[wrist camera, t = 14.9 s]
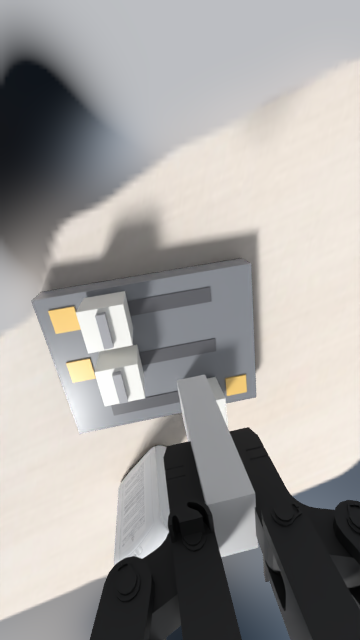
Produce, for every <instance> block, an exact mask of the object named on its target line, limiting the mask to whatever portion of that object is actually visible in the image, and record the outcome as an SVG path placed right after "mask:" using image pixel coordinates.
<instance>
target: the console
mask: <svg viewBox="0 0 360 640" xmlns="http://www.w3.org/2000/svg"><path fill="white" fill-rule="evenodd" d="M122 291H125V294H126V298H127V303H128V307H129V312H130V316H131V321H132V325H133V345H137V346H138V350H139V355H140V359H141V364H142V368H143V373H144V382H145V398H144V399H140V400H135V401H130V402H127V403H122V404H115V405H110V406H104V403H103V399H102V396H101V393H100V389H99V386H98V383H97V380H96V376H95V373H94V372H95V368H96V364H97V360H98V356H99V352H94V353H89V354H88V351H87V348H86V345H85V342H84V338H83V335H82V332H81V328H80V325H79V322H78V319H77V315H76V311H77V309H78V308H79V306H80V304H81V302H82V300H83V299H84V298H87V297H93V296H99V295H105V294H111V293H116V292H122ZM32 304H33V307H34V310H35V313H36V315H37V318H38V321H39V323H40V326H41V329H42V332H43V334H44V337H45V340H46V343H47V345H48V348H49V351H50V354H51V356H52V359H53V362H54V365H55V367H56V370H57V373H58V376H59V378H60V381H61V384H62V387H63V389H64V392H65V395H66V398H67V400H68V403H69V406H70V408H71V411H72V414H73V417H74V419H75V422H76V425H77V428H78V430H79V433H80V434H81V433H86V432H91V431H96V430H101V429H106V428H110V427H115V426H120V425H125V424H130V423H134V422H139V421H144V420H149V419H154V418H158V417H163V416H168V415H173V414H178V413H182V410H181V404H180V398H179V392H178V386H177V380H180V379H185V378H190V377H195V376H200V375H206V378H212V377H216V379H217V381H218V383H219V385H220V387H221V390H222V392H223V394H224V396H225V399H226V403H231V402H236V401H240V400H245V399H250V398H255V397H256V375H255V349H254V323H253V296H252V270H251V263H250V262H248V261H246V260H244V259H242V258H240V259H234V260H228V261H222V262H216V263H210V264H204V265H198V266H192V267H186V268H180V269H174V270H168V271H163V272H157V273H151V274H145V275H139V276H133V277H127V278H121V279H115V280H109V281H103V282H97V283H91V284H86V285H80V286H74V287H68V288H62V289H56V290H50V291H44V292H40V293H39V294H38V295H37V296H36V297H35V298H34V299H33V300H32ZM121 348H122V347H121ZM110 350H111V349H110ZM105 351H106V350H105Z"/></svg>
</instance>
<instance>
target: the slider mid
mask: <svg viewBox="0 0 360 640" xmlns="http://www.w3.org/2000/svg"><path fill="white" fill-rule="evenodd" d="M94 373H95V376H96V380H97V383H98V386H99V389H100V393H101V396H102V399H103V403H104V406H110V405H115V404H122V403H127V402H130V401H135V400H140V399H144V398H145V382H144V373H143V368H142V364H141V359H140V355H139V350H138V346H137V345H132V346H127V347H122V348H116V349H111V350H106V351H100V352H99V356H98V360H97V364H96V368H95V372H94Z"/></svg>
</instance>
